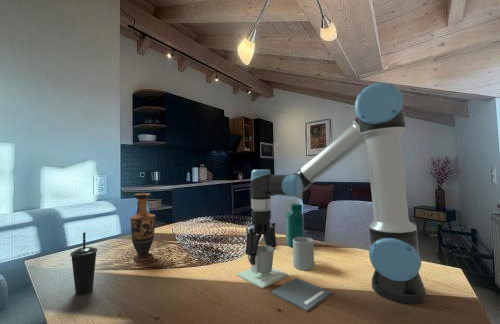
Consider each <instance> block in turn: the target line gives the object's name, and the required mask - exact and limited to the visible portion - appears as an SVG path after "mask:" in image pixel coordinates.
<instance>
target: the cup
mask: <svg viewBox="0 0 500 324" xmlns="http://www.w3.org/2000/svg"><path fill="white" fill-rule="evenodd" d="M274 248H275V247H274ZM274 248H273V247H271V246H267V245H266V244H262V245H258V248H257V253H256V255H257V256H258V273H261V274H268V273H270V272H271V271H272V268H273V261H274V252H275V250H274ZM247 260H248V262H249V263H250V255H247Z"/></svg>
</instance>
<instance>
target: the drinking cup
mask: <svg viewBox="0 0 500 324" xmlns="http://www.w3.org/2000/svg"><path fill="white" fill-rule="evenodd" d="M97 252H98V248H97V247H92V246H86V232H83V233H82V247H79V248H77V249H75V250H74V251H71V252H70V257H71V263H72V275H73V282H74V290H75V295H76V296H84V295H87V294H89V293H91V292H92V291H93V289H94V280H95V270H96V260H97Z"/></svg>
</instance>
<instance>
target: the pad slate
mask: <svg viewBox="0 0 500 324" xmlns="http://www.w3.org/2000/svg"><path fill="white" fill-rule="evenodd" d="M270 294H271V295H274V296H275V297H277V298H279V299H281V300H283V301H285V302H287V303H289V304H291V305H293V306H295V307H297V308H298V309H300V310H302V311H304V312H310V310H312V309H313V308H315V307H316V306H317V305H319V304H320V303H321V302H323V301H324V300H325V299H327V298H328V297H330V296H331V295H332V294H333V293H332V291H330V290H328V289H326V288H323V287H320V286H319V285H316V284H313V283H311V282H308V281H306V280H303V279H301V278H298V277H295V278H293V279H291V280H290V281H288V282H286V283H284V284H282V285H280V286H279V287H276V288H274V289H273V290H271V291H270Z"/></svg>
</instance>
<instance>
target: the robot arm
mask: <svg viewBox="0 0 500 324" xmlns="http://www.w3.org/2000/svg"><path fill="white" fill-rule="evenodd" d="M354 111H355V114H356V118H354V119H353V122H352V124H351V126H349V127H348V128H347V129H346V130H344V131H343V132H342V133H341V134H339V136H338V137H336V138H335V139H334V140H333V141H331V142H330V143H329V144H328V145H326V147H324V148H323V149H322V150H320V151H319V152H318V153H317V154H316V155H315V156H313V157H312V158H311V159H310V160H308V162H306V163H305V164H304V165H303V166H301V167H300V169H298V170H297V171H296V172H295V173H291V174H271V170H270V169H252V171H251V172H250V173H251V175H250V189H251V193H250V194H251V198H250V199H251V203H250V204H251V205H250V208H251V209H252V210H251V215H250V216H251V221H252V224H251V225H250V226H246V242H245V254H246V255H247V256H248V255H249V257H250V262H249V263H250V265H251V266H250V268H251V272H253V273H255V274H258V256H257V255H256V253H257V248H258V246H259V243H260V239H261V238H262V236H263V238H264V243H265V245H267V246H271V247H273V248H274V251H275V250H276V248H277V238H276V237H277V235H276V222H274V221H273V222H272V221H271V220H272V210H271V208H272V199H271V195H274V196H286V197H298V196H300V195H301V193H303V192H305V191H307V190H308V189H309V188H310V186H311V185H312V184H314V183H315V182H316V181H317V180H318V179H320V178H321V177H322V176H324V175H325V174H326V173H328V171H330V170H331V169H332V168H334V167H335V166H337V165H338V164H339V163H341V162H342V161H343V160H344V159H346V158H347V157H348V156H350V155H351V154H352V153H353V152H355V151H356V150H357V149H359V148H360V147H361V146H362V145H365V144H366V150H367V160H368V161H367V162H368V171H369V182H370V191H371V201H372V210H373V211H372V212H373V221H372V222H371V223H370V224H369V225H368V228H369V239H370V240H369V241H370V247H369V251H368V256H369V260H370V263H371V266H372V267H373V269H374V272H373V273H372V277H371V287H372V290H373V292H375V293H376V294H379V296H381V297H384V298H385V299H388V300H390V301H391V300H392V301H394V302H398V303H403V304H420V303H423V302H424V301H426V299H427V292H426V287H425V285H424V282H423V279H422V277H421V275H420V269H421V267H422V258H421V256H420V249H419V240H418V234H419V233H418V228H417V225H416V223H414V222H412V221H411V222H410V218H409V209H408V200H407V199H408V198H407V190H406V180H405V170H404V162H403V154H402V153H403V152H402V145H401V144H402V143H401V135H402V134H403V132H404V131H406V120H405V111H404V95H403V93H402V91H401V90H400V89H399V88H398V87H397V86H396V85H394V84H391V83H389V82H376V83H371V84H370V85H368V86H366V87H365V88H363V89H362V90H361V92H360V93H359V94H358V95H357V96H356V100H355V102H354Z"/></svg>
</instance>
